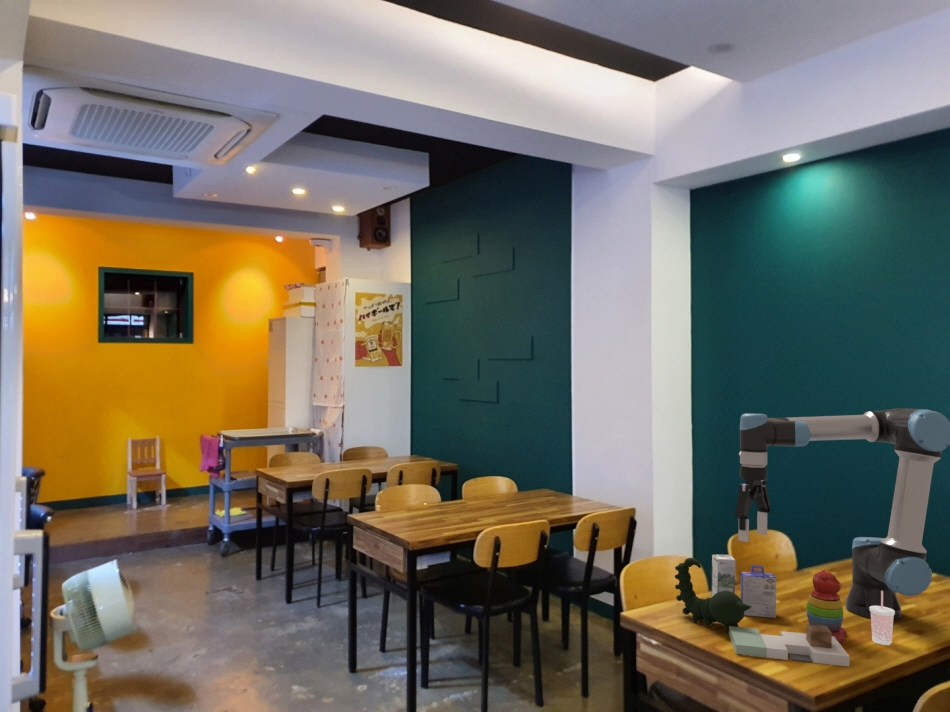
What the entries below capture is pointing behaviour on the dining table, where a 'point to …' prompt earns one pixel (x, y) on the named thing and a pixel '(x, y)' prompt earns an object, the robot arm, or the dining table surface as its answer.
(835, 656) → the trap deck
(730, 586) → the syrup box
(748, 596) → the ink cartridge box
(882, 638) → the beverage cup
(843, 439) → the robot arm
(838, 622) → the stacking bear
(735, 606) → the toy figurine
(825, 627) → the walnut block
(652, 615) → the dining table surface
